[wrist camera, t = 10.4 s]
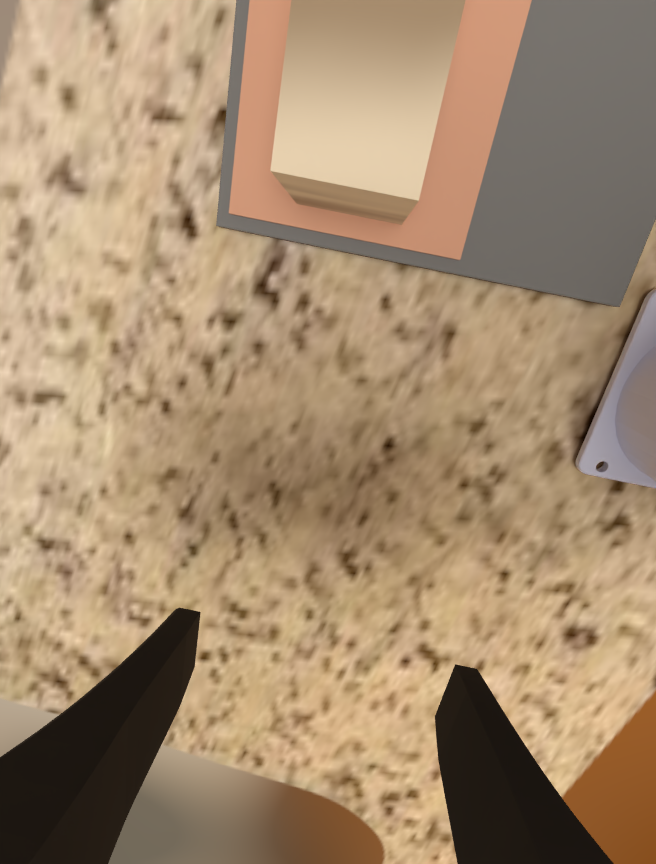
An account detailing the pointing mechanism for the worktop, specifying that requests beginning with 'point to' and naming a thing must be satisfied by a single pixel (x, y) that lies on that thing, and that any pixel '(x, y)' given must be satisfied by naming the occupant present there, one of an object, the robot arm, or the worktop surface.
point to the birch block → (362, 102)
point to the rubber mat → (486, 149)
